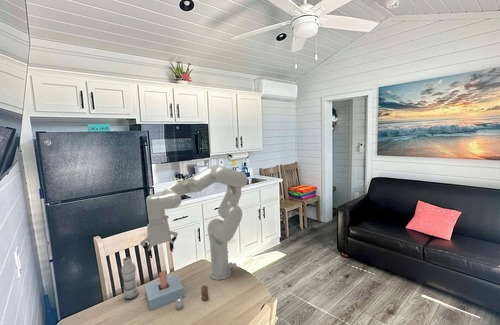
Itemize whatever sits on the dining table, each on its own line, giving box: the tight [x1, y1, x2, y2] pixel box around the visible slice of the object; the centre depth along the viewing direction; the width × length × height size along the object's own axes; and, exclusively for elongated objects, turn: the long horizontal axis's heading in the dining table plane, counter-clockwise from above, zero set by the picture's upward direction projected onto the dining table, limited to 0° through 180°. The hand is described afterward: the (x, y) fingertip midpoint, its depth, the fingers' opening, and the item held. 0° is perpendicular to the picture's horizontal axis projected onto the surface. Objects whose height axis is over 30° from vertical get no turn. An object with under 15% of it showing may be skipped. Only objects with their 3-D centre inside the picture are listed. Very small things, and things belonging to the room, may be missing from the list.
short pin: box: [175, 297, 184, 311], centre depth 114 cm, size 3×3×4 cm
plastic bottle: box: [120, 256, 139, 300], centre depth 122 cm, size 6×7×20 cm
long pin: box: [158, 270, 167, 290], centre depth 122 cm, size 3×3×12 cm
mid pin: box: [200, 284, 209, 302], centre depth 119 cm, size 3×3×6 cm
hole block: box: [143, 273, 186, 311], centre depth 123 cm, size 16×14×5 cm
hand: (161, 253), depth 120 cm, fingers open, 9 cm apart
